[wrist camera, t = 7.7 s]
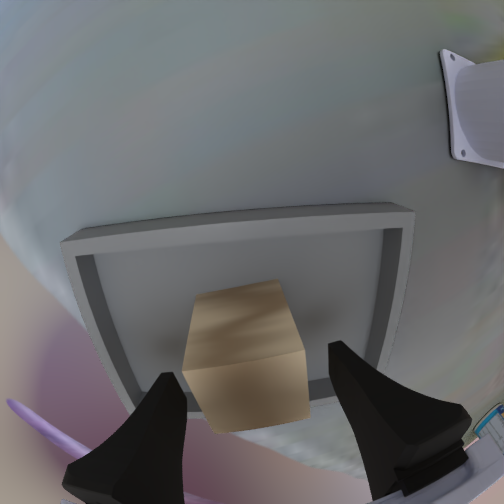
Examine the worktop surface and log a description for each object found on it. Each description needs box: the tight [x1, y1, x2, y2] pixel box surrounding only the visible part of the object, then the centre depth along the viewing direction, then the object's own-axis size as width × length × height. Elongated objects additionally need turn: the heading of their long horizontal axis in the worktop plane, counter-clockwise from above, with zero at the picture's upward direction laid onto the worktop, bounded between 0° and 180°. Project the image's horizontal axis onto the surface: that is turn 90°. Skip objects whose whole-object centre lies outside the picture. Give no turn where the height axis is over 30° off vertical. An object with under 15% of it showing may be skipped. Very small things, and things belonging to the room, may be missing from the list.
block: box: [182, 279, 310, 434], centre depth 13 cm, size 4×4×6 cm
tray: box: [60, 203, 416, 419], centre depth 15 cm, size 18×13×2 cm
